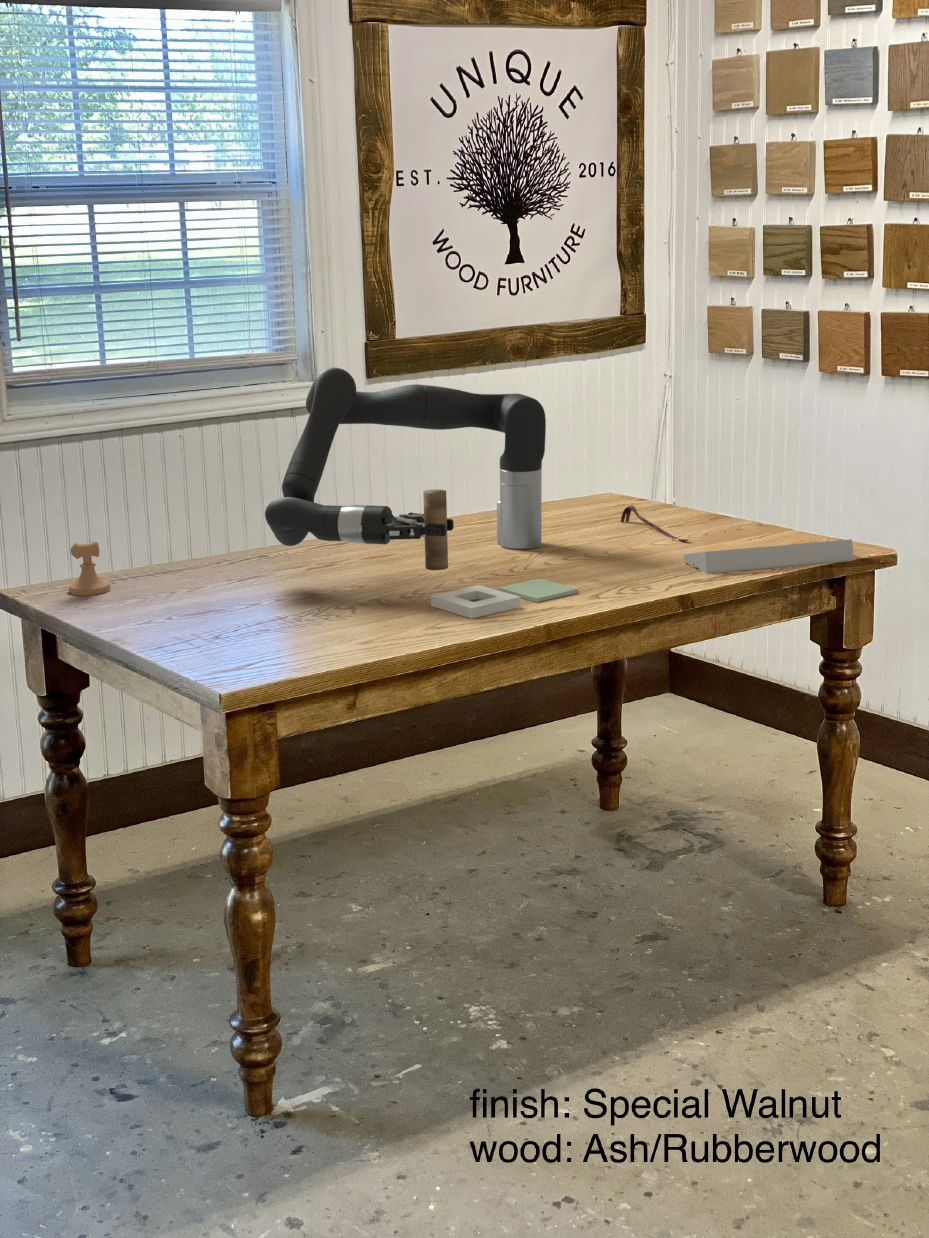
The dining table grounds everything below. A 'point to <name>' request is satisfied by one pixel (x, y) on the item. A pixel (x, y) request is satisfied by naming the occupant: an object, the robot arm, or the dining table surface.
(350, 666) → the dining table surface
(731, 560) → the decorative molding
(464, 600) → the hole plate
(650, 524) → the crowbar
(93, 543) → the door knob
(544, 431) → the robot arm
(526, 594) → the pad
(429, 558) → the walnut post
